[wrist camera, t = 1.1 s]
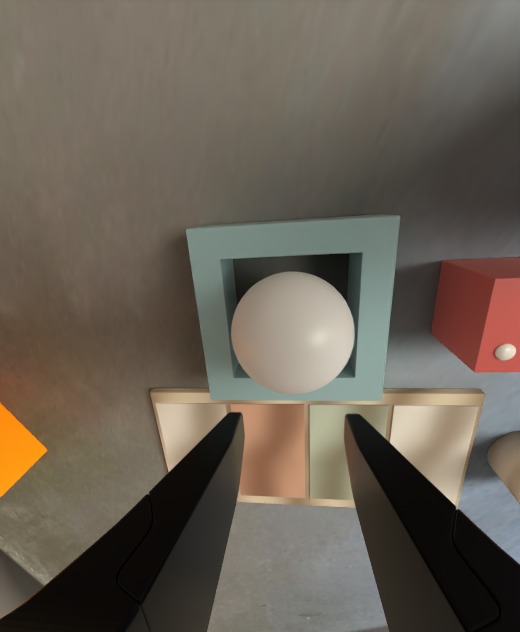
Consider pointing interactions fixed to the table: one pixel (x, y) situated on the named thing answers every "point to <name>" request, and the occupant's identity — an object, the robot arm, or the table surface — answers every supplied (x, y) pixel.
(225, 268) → the housing
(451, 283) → the red die
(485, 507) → the table surface
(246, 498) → the game board
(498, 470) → the pawn
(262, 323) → the white ball
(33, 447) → the orange juice
